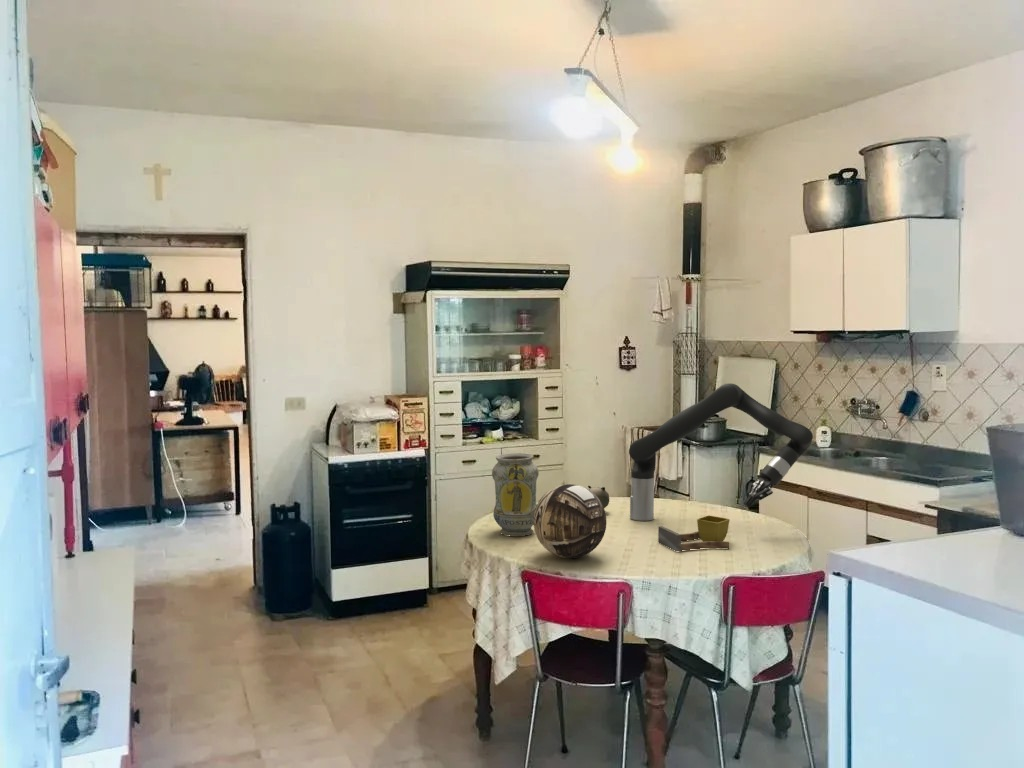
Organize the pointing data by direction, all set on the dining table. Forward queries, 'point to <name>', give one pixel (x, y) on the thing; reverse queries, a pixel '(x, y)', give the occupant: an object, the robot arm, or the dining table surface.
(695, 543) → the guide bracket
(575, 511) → the sphere
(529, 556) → the dining table surface
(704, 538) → the flower pot
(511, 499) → the vase
